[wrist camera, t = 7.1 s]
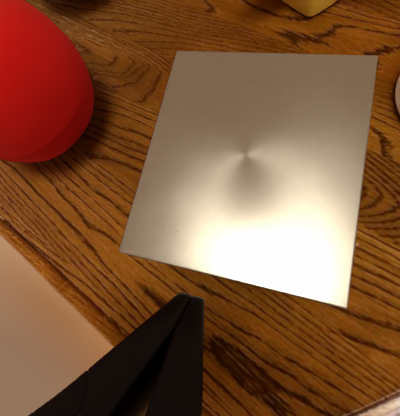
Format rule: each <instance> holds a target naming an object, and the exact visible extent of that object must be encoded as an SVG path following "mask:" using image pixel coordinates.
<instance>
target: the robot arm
mask: <svg viewBox="0 0 400 416" xmlns="http://www.w3.org/2000/svg"><path fill="white" fill-rule="evenodd" d="M203 340H204V299H203V298H201V297H197V296H191V295H190V294H186V293H183V292H181V293H178V294H177V295H176V296H175V297H174V298H172V299H171V300H170V301H169V302H168V303H166V304H165V305H164V306H163V307H162V308H160V309H159V310H158V311H157V312H156V313H155V314H153V315H152V316H151V317H150V318H149V319H147V320H146V321H145V322H144V323H143V324H141V325H140V326H139V327H138V328H137V329H135V330H134V331H133V332H132V333H131V334H130V335H128V336H127V337H126V338H125V339H124V340H122V341H121V342H120V343H119V344H118V345H116V346H115V347H114V348H113V349H112V350H110V351H109V352H108V353H107V354H106V355H105V356H103V357H102V358H101V359H100V360H99V361H97V362H96V363H95V364H94V365H93V366H91V367H90V368H89V370H88V371H85V372H84V373H83V374H82V375H81V376H79V378H77V379H76V380H75V381H73V382H72V383H71V384H70V385H69V386H67V387H66V388H65V389H63V390H62V391H61V392H60V393H59V394H57V395H56V396H55V397H54V398H52V399H51V400H49V401H48V402H46V403H45V404H44V405H43V406H41V407H40V408H38V409H37V410H36V411H34V412H33V413H31V414H30V415H29V416H202V395H203Z"/></svg>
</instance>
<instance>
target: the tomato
mask: <svg viewBox="0 0 400 416" xmlns="http://www.w3.org/2000/svg"><path fill="white" fill-rule="evenodd" d="M93 109H94V90H93V85H92V81H91V78H90V75H89V72H88V70H87V67H86V65H85V63H84V61H83V59H82V57H81V56H80V54H79V52H78V51H77V49H76V48H75V46H74V45H73V43H72V42H71V40H70V39H69V38H68V37H67V36H66V35H65V34H64V33H63V32H62V31H61V30H60V29H59V28H58V27H57V26H56V25H55V24H54V23H53V22H52V21H51V20H50V19H49V18H48V17H47V16H46V15H44V14H43V13H41V12H40V11H39V10H37V9H36V8H35V7H33V6H32V5H30V4H29V3H28V2H26V1H25V0H0V159H2V160H7V161H13V162H27V163H32V162H41V161H47V160H50V159H52V158H55V157H57V156H59V155H61V154H62V153H64V152H65V151H67V150H68V149H69V148H70V147H71V146H73V145H74V144H75V142H76V141H77V140H78V139H79V138H80V137H81V135H82V134H83V132H84V131H85V129H86V128H87V126H88V124H89V122H90V120H91V117H92V113H93Z"/></svg>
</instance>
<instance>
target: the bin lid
mask: <svg viewBox="0 0 400 416" xmlns="http://www.w3.org/2000/svg"><path fill="white" fill-rule="evenodd" d="M377 58H378V56H372V55H331V54H289V53H247V52H205V51H177V52H176V55H175V59H174V62H173V66H172V69H171V73H170V76H169V80H168V83H167V87H166V90H165V93H164V97H163V100H162V104H161V107H160V111H159V114H158V118H157V121H156V125H155V128H154V132H153V135H152V138H151V142H150V145H149V149H148V152H147V156H146V159H145V163H144V166H143V170H142V173H141V177H140V180H139V184H138V187H137V190H136V194H135V197H134V201H133V204H132V208H131V211H130V215H129V218H128V222H127V225H126V229H125V232H124V235H123V239H122V242H121V246H120V249H119V252H120V253H124V254H128V255H132V256H136V257H140V258H144V259H148V260H152V261H156V262H160V263H164V264H168V265H172V266H176V267H180V268H184V269H188V270H192V271H196V272H200V273H204V274H208V275H212V276H216V277H220V278H224V279H228V280H232V281H236V282H240V283H244V284H248V285H252V286H256V287H260V288H264V289H268V290H272V291H276V292H280V293H284V294H288V295H292V296H296V297H300V298H304V299H308V300H312V301H316V302H320V303H324V304H328V305H332V306H336V307H340V308H344V309H347V308H348V300H349V292H350V283H351V275H352V267H353V258H354V250H355V242H356V233H357V225H358V217H359V208H360V200H361V192H362V183H363V175H364V167H365V158H366V150H367V142H368V133H369V125H370V117H371V108H372V100H373V92H374V83H375V75H376V67H377Z"/></svg>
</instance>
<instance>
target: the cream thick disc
mask: <svg viewBox="0 0 400 416" xmlns="http://www.w3.org/2000/svg"><path fill="white" fill-rule="evenodd" d="M395 102H396V107H397V110H398V112H399V114H400V75H399V78H398V80H397V84H396V89H395Z"/></svg>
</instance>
